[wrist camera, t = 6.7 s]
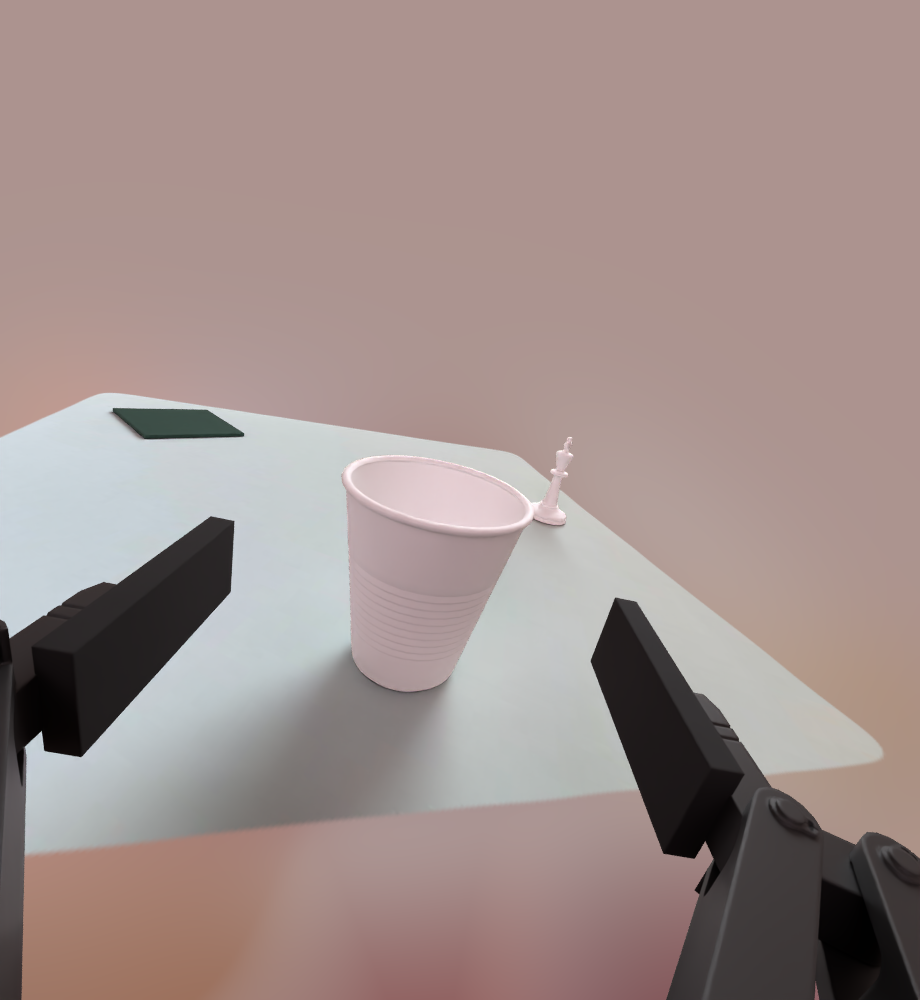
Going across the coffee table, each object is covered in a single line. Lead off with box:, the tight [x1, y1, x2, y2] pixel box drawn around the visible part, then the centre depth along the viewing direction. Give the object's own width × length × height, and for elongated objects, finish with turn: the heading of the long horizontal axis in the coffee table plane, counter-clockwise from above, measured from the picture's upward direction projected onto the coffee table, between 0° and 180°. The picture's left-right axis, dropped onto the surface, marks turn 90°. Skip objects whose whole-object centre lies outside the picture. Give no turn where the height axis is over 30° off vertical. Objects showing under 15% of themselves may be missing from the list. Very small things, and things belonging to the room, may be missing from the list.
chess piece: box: [531, 437, 573, 525], centre depth 54 cm, size 5×5×10 cm
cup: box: [341, 455, 534, 692], centre depth 25 cm, size 10×10×11 cm
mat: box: [113, 408, 244, 439], centre depth 58 cm, size 11×11×1 cm
